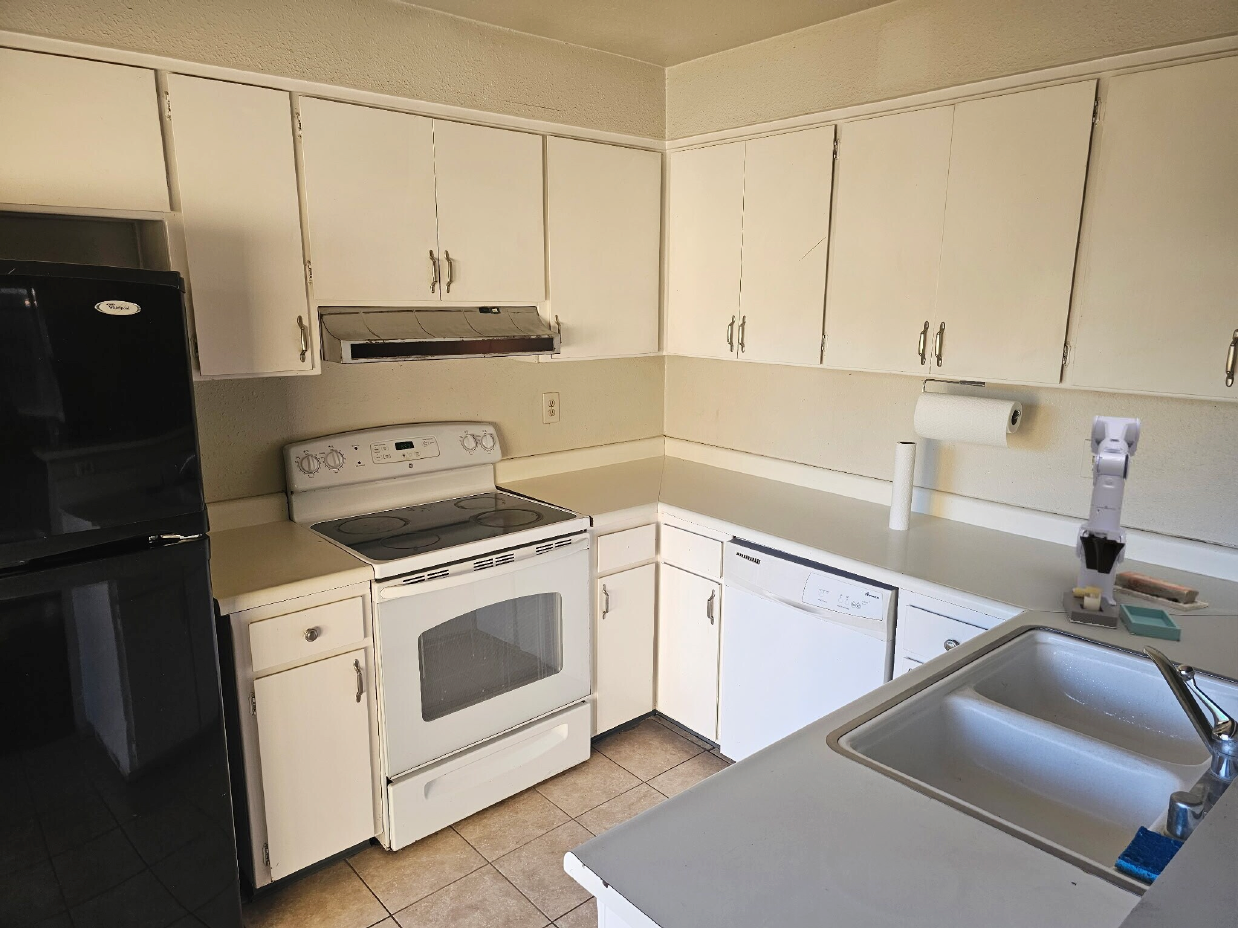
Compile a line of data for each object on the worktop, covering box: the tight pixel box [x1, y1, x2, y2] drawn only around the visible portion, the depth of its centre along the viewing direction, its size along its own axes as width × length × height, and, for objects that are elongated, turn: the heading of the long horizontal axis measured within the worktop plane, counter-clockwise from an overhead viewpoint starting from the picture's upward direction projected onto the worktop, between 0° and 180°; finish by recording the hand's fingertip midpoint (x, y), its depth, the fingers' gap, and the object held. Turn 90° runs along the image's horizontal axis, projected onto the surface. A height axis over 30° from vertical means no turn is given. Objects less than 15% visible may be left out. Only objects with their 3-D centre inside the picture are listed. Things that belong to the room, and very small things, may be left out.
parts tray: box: [1118, 603, 1182, 642], centre depth 172 cm, size 14×8×2 cm, turn 157°
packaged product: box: [1113, 571, 1210, 612], centre depth 194 cm, size 18×5×10 cm
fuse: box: [1083, 586, 1102, 611], centre depth 176 cm, size 3×3×7 cm
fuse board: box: [1062, 587, 1119, 629], centre depth 178 cm, size 16×8×4 cm, turn 157°
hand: (1097, 571), depth 174 cm, fingers open, 7 cm apart
